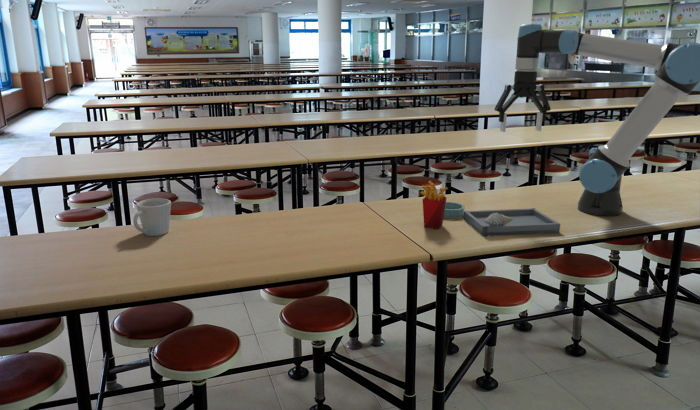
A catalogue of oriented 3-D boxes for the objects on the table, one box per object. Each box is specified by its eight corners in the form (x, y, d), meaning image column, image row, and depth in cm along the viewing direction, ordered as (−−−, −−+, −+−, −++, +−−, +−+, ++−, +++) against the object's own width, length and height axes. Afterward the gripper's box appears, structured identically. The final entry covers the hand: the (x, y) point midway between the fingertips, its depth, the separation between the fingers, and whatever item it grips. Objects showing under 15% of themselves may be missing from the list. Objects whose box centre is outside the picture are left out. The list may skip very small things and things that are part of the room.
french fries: (445, 224, 187) (448, 181, 182) (439, 231, 179) (441, 187, 175) (420, 221, 190) (422, 178, 186) (413, 228, 183) (414, 184, 179)
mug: (180, 229, 180) (177, 199, 178) (150, 244, 167) (147, 212, 164) (153, 225, 184) (150, 196, 181) (122, 240, 170) (118, 208, 167)
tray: (533, 216, 196) (534, 208, 196) (559, 232, 179) (560, 224, 178) (463, 219, 193) (464, 211, 192) (483, 236, 175) (483, 227, 175)
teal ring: (457, 209, 205) (458, 201, 204) (468, 217, 195) (468, 209, 194) (430, 210, 203) (430, 202, 202) (439, 218, 193) (439, 210, 192)
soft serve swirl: (520, 225, 182) (491, 227, 173) (507, 228, 186) (478, 230, 177) (517, 210, 183) (488, 211, 173) (504, 213, 186) (475, 215, 177)
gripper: (553, 70, 199) (547, 128, 205) (488, 70, 195) (483, 129, 201) (564, 71, 192) (558, 131, 198) (496, 71, 188) (491, 133, 194)
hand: (520, 131), depth 200 cm, fingers open, 13 cm apart
